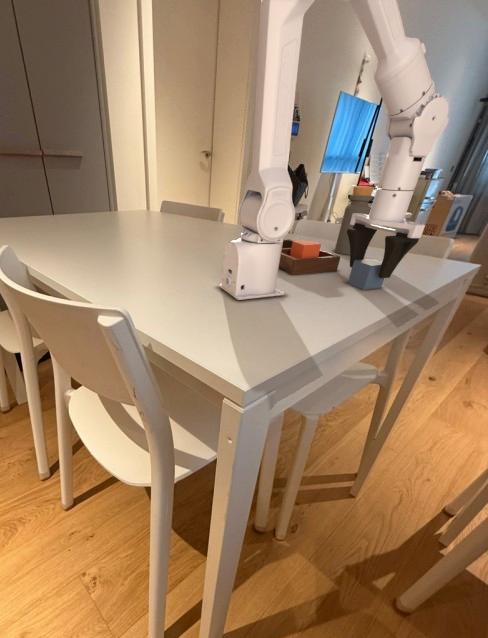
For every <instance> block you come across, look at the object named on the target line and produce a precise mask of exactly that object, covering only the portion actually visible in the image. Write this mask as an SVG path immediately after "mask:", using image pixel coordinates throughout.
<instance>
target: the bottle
mask: <svg viewBox="0 0 488 638" xmlns="http://www.w3.org/2000/svg"><path fill="white" fill-rule="evenodd" d="M374 189H375V186H369V185H354V186H353V189H352V194H350V196H349V200H350V204H348V205H346V206H345V208H344V212H343V217H342V220H341V224H340V228H339V232H338V235H337V239H336V243H335V246H334V252H335V253H336V254H341V255H348V256H350V243H349V238H348V234H347V229H348V228H353V226H354V225H350V222H351V218H352V214H353V213H362V214H370V211H371V207H370V205H369V202H370V201H373V198H374V197H373V195H372V193H373V192H374Z"/></svg>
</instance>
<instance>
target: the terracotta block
mask: <svg viewBox="0 0 488 638" xmlns="http://www.w3.org/2000/svg"><path fill="white" fill-rule="evenodd" d="M321 246H322V243H319V242H316V241H313V240H309V239H308V240H307V239H305V240H294V241H293V242H292V248H291V253H290V256H291V257H294V258H296V259H300V258H314V257H318V256H319V251H320V250H321Z"/></svg>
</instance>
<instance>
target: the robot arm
mask: <svg viewBox="0 0 488 638" xmlns="http://www.w3.org/2000/svg"><path fill="white" fill-rule="evenodd" d="M315 1H316V0H261V1H260V7H259V8H260V9H259V13H260V14H259V29H258V47H257V49H258V50H257V65H256V66H257V67H256V82H255V83H256V85H255V102H254V119H253V120H254V123H253V137H252V138H253V140H252V159H251V171H250V173H249V175H248V176H247V179H246V181H245V182H244V188H243V196H242V199H241V201H240V203H239V206H238V210H237V211H238V212H237V217H238V222H239V225H241V228H242V230H241V232H240V237H239V238H238V239H236V240H231V241H229V242H227V243H226V245H225V248H224V252H223V260H222V273H221V274H222V275H221V283H219V287H220V288H221V289H222V290H223V291H225V292H226V293H227V294H229V295H230V296H232V297H233V298H234V299H236V300H238V301H241V300H251V299H260V298H261V299H262V298H269V297H278V296H279V297H280V296H284V295H285V291H283V290H281V289H279V288H278V287H277V286H276V285H277V279H278V273H279V262H280V256H281V250H282V245H283V240H284V239H285V237H286V236H287V235H288V234H289V232H290V231H291V230H292V228H293V225H294V223H295V220H296V209H295V205H294V203H293V189H294V187H293V182H292V180H291V177H290V173H289V171H288V166H289V156H290V149H291V139H292V138H291V137H292V128H293V119H294V111H295V109H294V108H295V101H296V92H297V83H298V82H297V81H298V72H299V64H300V54H301V45H302V44H301V43H302V35H303V26H304V18H305V14H306V12H307V11H308V10H309V9H310V7H311V6H312V5H313V4H314V3H315ZM338 1H339V2H348V3H349V4H350V5H351V7H352V9H353V11H354V13H355V15H356V17H357V19H358V21H359V24H360V26H361V28H362V30H363V31H364V34H365V36H366V38H367V41H368V42H369V44H370V46H371V49H372V50H373V52H374V55H375V57H376V59H377V64H376V66H375V70H374V74H373V79H374V82H375V85H376V87H377V89H378V92H379V94H380V97H381V99H382V102H383V105H384V108H385V109H386V111H387V112H386V115H387V122H386V127H385V132H386V137H387V138H388V139H389V140H390V144H389V146H388V150H387V152H386V156H385V160H384V164H383V167H382V170H381V174H380V177H379V181H378V184H377V187H376V190H375V194H374V197H373V200H372V204H371V207H370V212H369V214H362V213H353V214H352V218H351V222H350V225H354V226H353V228H348V229H347V234H348V238H349V243H350V255H349V268H351V269H352V266H353V263H354V260H362V259H365V255H366V253H367V250H368V247H369V245H370V243H371V241H372V239H373V238H374V236H375V235H376V233H377V231H381V232H386V233H390V234H394V235H386V236H385V237H384V253H383V258H382V261H381V262H382V265H381V268H380V272H379V278H384V279H388V278H390V277H391V276H392V274H393V273H394V271H395V270H396V268H397V266H398V265H399V264H400V262H401V261H402V260H403V259H404V258H405V256H406V255H407V254H408V253H409V252H410V251H411V250H412V249H413V247H415V246H416V245H418V243H419V240H420V238H421V237H422V235H423V233H424V230H425V227H426V225H425V224H422V223H418V222H415V221H411V220H407V218H406V216H407V212H408V209H409V207H410V203H411V201H412V198H413V195H414V193H415V190H416V187H417V184H418V181H419V178H420V175H421V173H422V171H423V166H424V164H425V161H426V158H427V157H428V156H429V154H430V153H431V152H432V150H433V147H434V144H435V142H436V140H437V139H438V138H439V137H440V136H441V135H442V134H443V132H444V131H445V129H446V128H447V125H448V124H449V122H450V118H449V117H448V116H449V112H450V111H449V110H450V106H449V103H448V100H447V99H446V97H445V96H444V95H443V94H441V93H436V89H435V87H436V84H435V81H434V80H433V79H432V76H431V73H430V69H429V66H428V63H427V60H426V55H425V54H426V53H427V48H426V45H425V43H424V42H421V41H420V39H419V38H417V37H409V36H406V32H405V28H404V24H403V23H404V22H403V19H402V16H401V12H400V8H399V4H398V3H399V2H398V0H338Z"/></svg>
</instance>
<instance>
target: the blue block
mask: <svg viewBox="0 0 488 638" xmlns="http://www.w3.org/2000/svg"><path fill="white" fill-rule="evenodd" d="M382 262H383V261H380V260H377V259H374V258H364V259H362V260H354V263H353V266H352V268H351V271H350V274H349V276H348V280H347V284H349V285H352V286H354V287H356V288H359V289H361V290H363V291H364V290H373V289H380V288H381V289H382V286H383V283H384V281H385V278H379V272H380V268H381V265H382Z"/></svg>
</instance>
